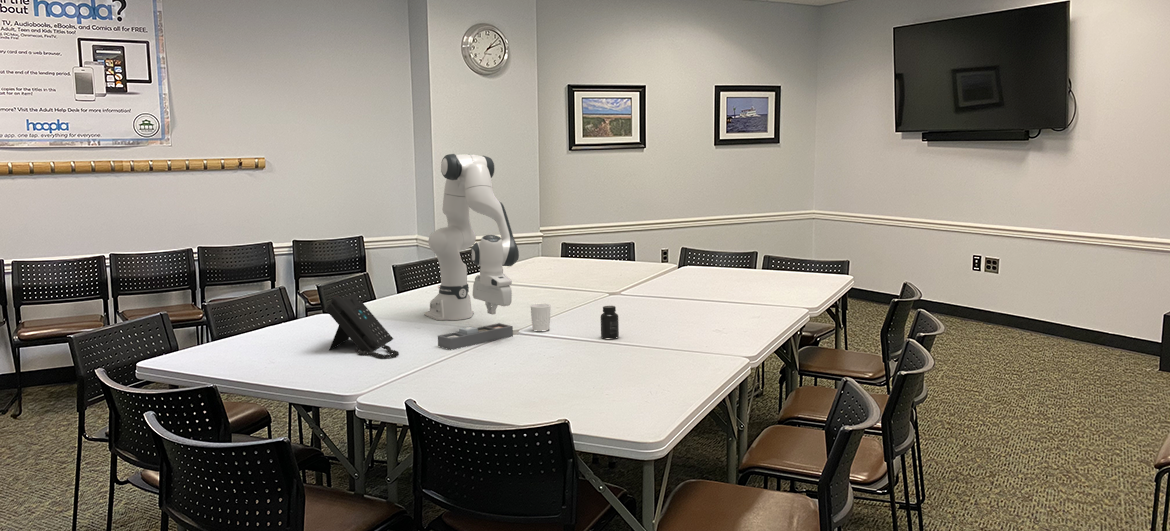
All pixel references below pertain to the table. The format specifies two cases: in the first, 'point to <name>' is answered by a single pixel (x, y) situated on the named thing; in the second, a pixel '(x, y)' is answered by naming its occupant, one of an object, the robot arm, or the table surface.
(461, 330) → the key
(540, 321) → the white cup
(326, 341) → the table surface
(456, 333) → the dark grey holder tray
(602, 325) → the supplement bottle
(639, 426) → the table surface
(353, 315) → the office phone
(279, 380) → the table surface
